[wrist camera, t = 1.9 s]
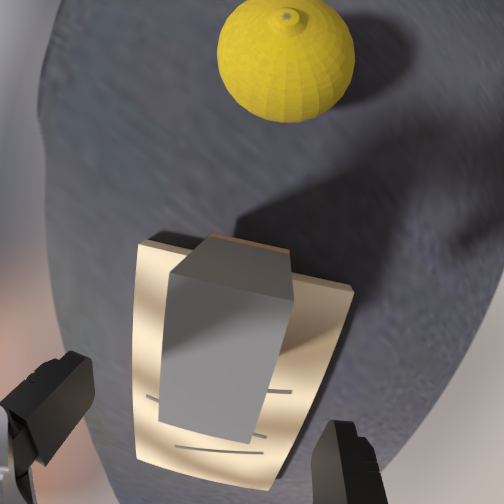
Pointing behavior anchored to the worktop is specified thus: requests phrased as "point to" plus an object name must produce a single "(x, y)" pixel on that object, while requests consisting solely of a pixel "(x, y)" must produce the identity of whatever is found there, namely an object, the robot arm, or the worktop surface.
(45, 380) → the robot arm
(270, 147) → the worktop surface
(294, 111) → the lemon
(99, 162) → the worktop surface
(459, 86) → the worktop surface
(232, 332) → the block
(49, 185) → the worktop surface
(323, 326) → the board
